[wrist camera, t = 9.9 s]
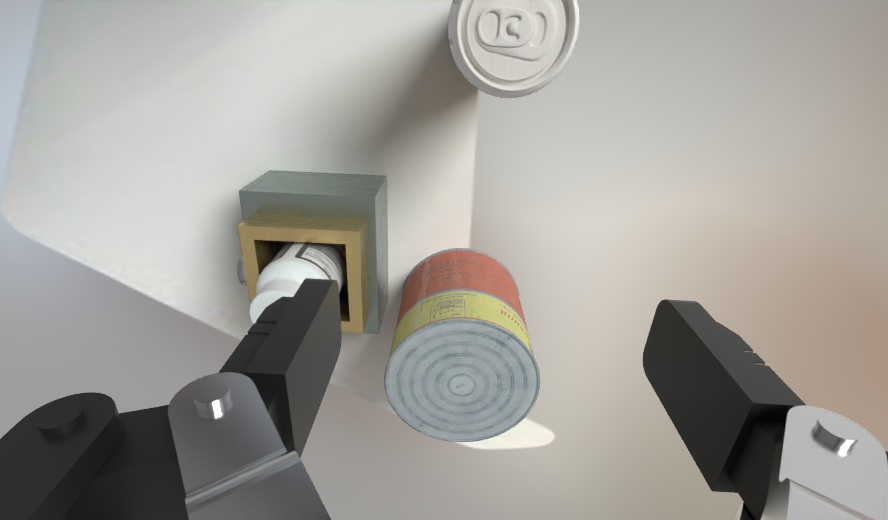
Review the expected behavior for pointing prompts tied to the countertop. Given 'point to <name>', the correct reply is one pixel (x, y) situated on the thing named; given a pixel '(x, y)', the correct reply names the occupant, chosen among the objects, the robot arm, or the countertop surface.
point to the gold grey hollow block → (321, 233)
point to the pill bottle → (298, 271)
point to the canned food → (461, 349)
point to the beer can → (512, 42)
